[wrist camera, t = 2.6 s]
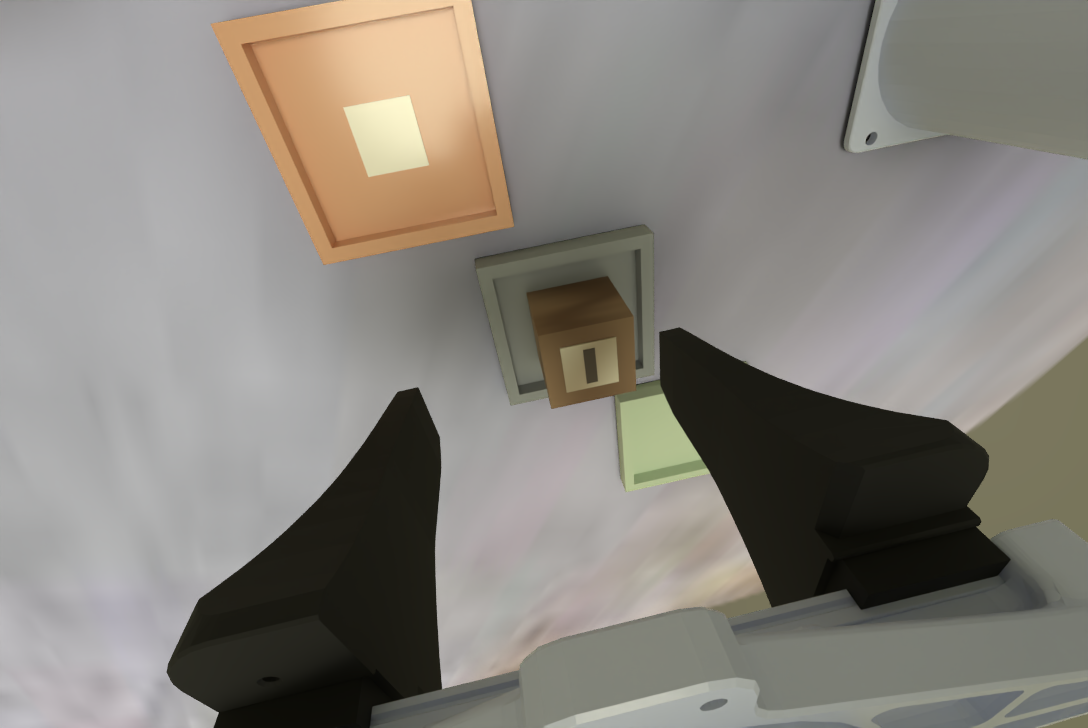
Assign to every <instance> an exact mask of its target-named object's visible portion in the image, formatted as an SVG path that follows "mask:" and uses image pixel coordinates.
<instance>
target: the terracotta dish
mask: <svg viewBox="0 0 1088 728" xmlns="http://www.w3.org/2000/svg"><path fill="white" fill-rule="evenodd" d="M211 26H212V28H213V30H214V32H215V35H216V37H217V39H218V41H219V43H220V45H221V47H222V49H223V52H224V54H225V56H226V58H227V60H228V62H229V64H230V66H231V69H232V71H233V73H234V75H235V77H236V79H237V81H238V84H239V86H240V88H241V90H242V92H243V94H244V96H245V98H246V101H247V103H248V105H249V107H250V109H251V111H252V113H253V115H254V118H255V120H256V122H257V124H258V126H259V128H260V130H261V132H262V135H263V137H264V139H265V141H266V143H267V145H268V147H269V150H270V152H271V154H272V156H273V158H274V160H275V162H276V164H277V167H278V169H279V171H280V173H281V175H282V177H283V179H284V181H285V184H286V186H287V188H288V190H289V192H290V194H291V196H292V199H293V201H294V203H295V205H296V207H297V209H298V211H299V213H300V216H301V218H302V220H303V222H304V224H305V226H306V228H307V230H308V233H309V235H310V237H311V239H312V241H313V243H314V245H315V248H316V250H317V252H318V254H319V256H320V258H321V260H322V262H323V265H326V264H331V263H336V262H341V261H346V260H351V259H356V258H361V257H366V256H371V255H376V254H381V253H386V252H391V251H396V250H401V249H406V248H411V247H416V246H421V245H426V244H431V243H436V242H441V241H446V240H451V239H456V238H461V237H466V236H471V235H475V234H480V233H485V232H490V231H495V230H500V229H505V228H510V227H514V223H513V217H512V212H511V207H510V202H509V196H508V191H507V186H506V181H505V175H504V170H503V165H502V160H501V155H500V149H499V144H498V139H497V134H496V128H495V123H494V118H493V113H492V107H491V102H490V97H489V92H488V86H487V81H486V76H485V71H484V65H483V60H482V55H481V50H480V45H479V39H478V34H477V29H476V24H475V18H474V13H473V8H472V3H471V0H341V1H336V2H330V3H325V4H319V5H313V6H308V7H302V8H297V9H291V10H286V11H280V12H274V13H269V14H263V15H258V16H252V17H247V18H241V19H236V20H230V21H224V22H219V23H213V24H211Z"/></svg>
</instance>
